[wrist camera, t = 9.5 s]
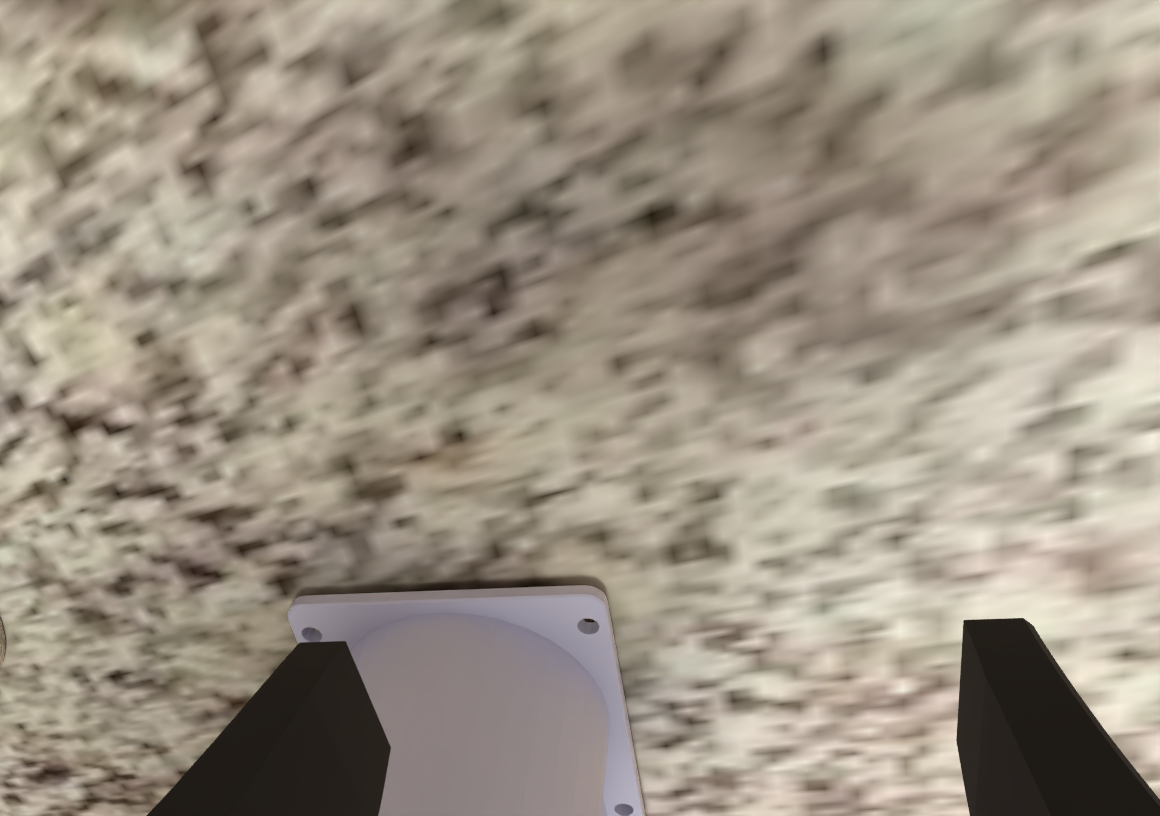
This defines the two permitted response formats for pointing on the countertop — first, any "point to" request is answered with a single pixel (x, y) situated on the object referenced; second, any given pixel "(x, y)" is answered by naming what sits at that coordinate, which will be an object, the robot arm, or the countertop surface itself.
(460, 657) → the robot arm
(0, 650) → the ratchet
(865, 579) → the countertop surface
